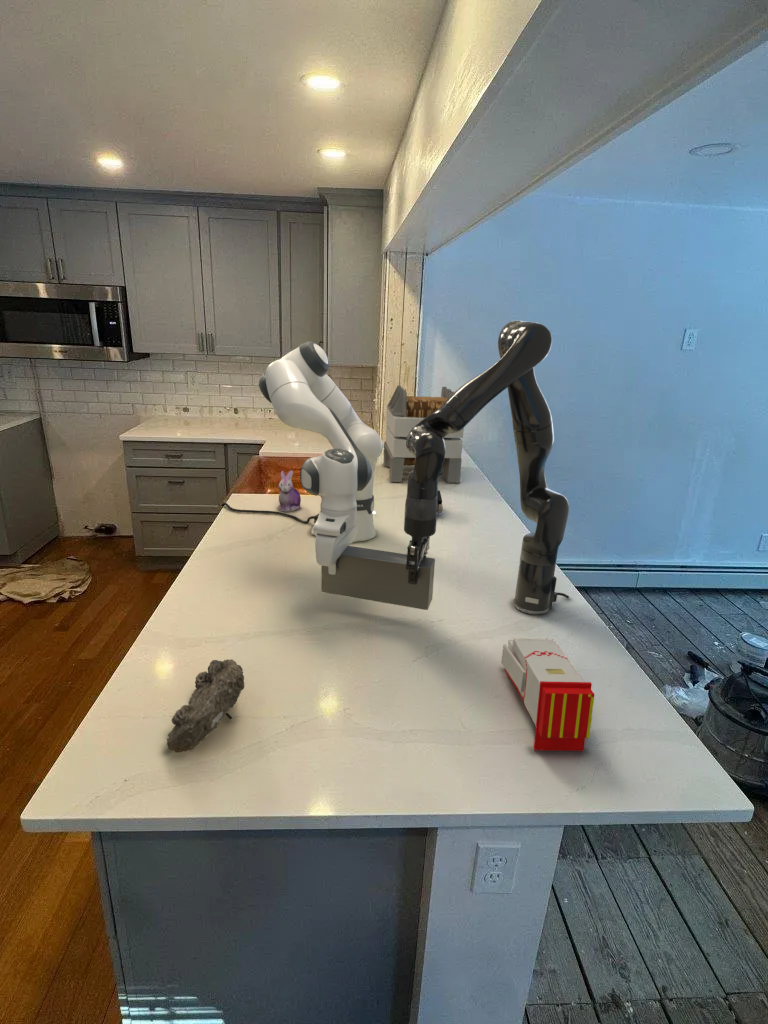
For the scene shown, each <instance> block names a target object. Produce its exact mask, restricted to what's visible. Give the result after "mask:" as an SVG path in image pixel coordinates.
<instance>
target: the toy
mask: <svg viewBox="0 0 768 1024" xmlns="http://www.w3.org/2000/svg"><path fill="white" fill-rule="evenodd" d="M500 661H501V662H500V663H501V664H502V666H503V668H504V671H505V673H506V674H507V676H508V678H509V679H510V681H511V684H512V685H513V686H514V688H515V691H517V693H518V695H519V696H520V699H521V700H522V702H523V704H524V706H525V708H526V711H527V712H528V714H529V716H530V718H531V720H532V723H533V724H534V726H535V731H534V741H533V750H534V751H554V752H555V751H556V752H557V751H558V752H564V751H565V752H584V751H585V743H586V739H590V737H591V736H590V735H591V727H592V718H593V710H594V702H595V692H593V690H592V685H593V684H592V682H590V681H585V679H584V678H583V676H582V675H581V674H580V673H579V672H578V670H577V669H576V668H575V666H574V665H573V663H572V662H571V661H570V659H569V658H568V657H567V655H566V654H565V653H564V651H563V650H562V649H561V648H560V646H559V644H558V643H557V642H556V640H554V638H517V637H515V638H512V639H508V643H507V644H503V647H502V653H501V660H500Z"/></svg>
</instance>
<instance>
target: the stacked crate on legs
mask: <svg viewBox="0 0 768 1024" xmlns="http://www.w3.org/2000/svg"><path fill="white" fill-rule="evenodd" d="M454 392H455V391H453V390H452V389H451V388H447V386H442V387H441V392H440V393H441V394H440V396H415V395H414V396H413V395H412V396H411V395H407V394H408V393H407V390H406V389H404V388H403V387H402V385H399V384H398V385H397V386H396V388H395V390H394V392H393V394H392V395H391V398H390V400H389V402H388V404H387V405H386V413H385V414H386V415H385V423H386V428H385V438H384V442H383V466H384V467H388V468H389V475H388V476H389V477H388V478H389V480H390V482H391V483H402V482H403V475H404V469H405V466H406V467H407V466H411V467H412V466H413V467H414V466H415V456H414V455H412V454H411V453H410V452H409V451H408V449H407V447H406V438H407V436H408V434H409V432H410V431H411V430H412V428H413V427H414V426H415V425H417V424H418V423H419V422H420V421H422V420H423V419H425V418H426V417H427V416H429V415H430V414H432V413H433V412H435V411H437V410H438V409H439V408H440V407H441V406H442V405H443V404H444V403H445V402H446V401H447V400H448V399H449V398H450V396H451V395H452V394H453V393H454ZM464 429H465V427H464V428H463V429H462V430H461V431H459V432H457V433H450V434H448V435H447V436H445V437H444V438H443V439H444V442H445V458H444V462H443V466H442V469H441V472H440V475H443V478H444V479H445V481H446V482H447V483H449V484H455V483H456V484H459V483H461V472H462V461H463V460H462V453H463V442H464V441H463V440H462V439H463V438H464V431H465V430H464Z"/></svg>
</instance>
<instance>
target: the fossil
mask: <svg viewBox="0 0 768 1024" xmlns="http://www.w3.org/2000/svg"><path fill="white" fill-rule="evenodd" d="M243 670H244V669H243V667H242V665H240V664H237V662H236V661H235V660H234V659H232V658H231V659H227V658H226V659H224V660H223V661H222V660H217V659H212V660H211V661H210V663H209V665H208V666H207V671H201V672H199V673H198V674H197V675H196V676H195V680H194V684H195V685H194V687H195V689H194V690H193V693H192V694H191V697H190V698H189V700H188V704H184V705H182V706H181V707H180V709H177V710H176V711H175V713H174V715H173V716H172V718H171V723H172V724H173V727H172V730H171V731H170V732H168V734H167V738H166V741H167V742H166V745H167V749H168V750H169V751H173V752H174V753H176V754H178V753H182V752H188V751H189V752H192V751H193V750H195V748H196V747H197V746H199V744H200V743H201V742H203V741H204V740H205V739H206V738H207V737H208V736H209V735H210V734H211V733H212V732H214V730H215V729H217V727H218V726H219V724H220V722H221V721H222V720H223V719H224V718H225V716H226V717H227V719H229V720H233V717H232V715H230V714H229V710H230V709H231V708H234V706H235V704H236V703H237V702H238V699H239V697H240V695H241V693H242V691H243V690H245V689H244V688H245V675H244V671H243Z"/></svg>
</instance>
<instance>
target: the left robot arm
mask: <svg viewBox="0 0 768 1024" xmlns="http://www.w3.org/2000/svg"><path fill="white" fill-rule="evenodd" d="M329 368H330V362H329V359H328V355H327V353H326V352H325V350H324V349H323V348H322V347H321V346H320V345H319V344H317V343H316V342H314V341H311V340H309V341H306V342H303V343H301V344H299V345H298V347H295V349H293V350H291V351H289V352H287V353H286V354H284V355H283V356H282V357H281V358H279V359H277V360H276V359H275V360H274V361H272V362H271V363H270V364H269V365H268V366H267V367H266V369H265V371H264V372H263V374H262V375H261V376H260V377H259V380H258V387H259V390H260V393H261V394H262V395H263V397H264V398H265V400H267V401H268V402H269V403H270V404H271V405H272V408H273V411H274V413H275V414H276V416H277V417H278V419H279V420H280V422H282V423H283V424H284V425H286V426H288V427H291V428H294V429H300V430H305V431H310V432H314V433H316V434H319V435H322V436H323V437H324V438H326V439H327V441H328V442H329V444H330V445H331V447H332V448H330V449H328V450H326V451H323V454H322V455H318V456H312V457H309V458H306V459H305V460H304V462H303V463H302V465H301V467H300V470H299V480H300V486H301V488H302V489H303V490H305V491H306V492H307V493H309V494H310V495H312V496H314V497H315V496H316V497H318V496H319V497H320V499H321V501H320V511H319V512H318V513H317V514H315V515H312V516H309V517H308V518H307V519H306V520H302V519H300V518H299V517H297V516H296V515H292V514H290V513H287V512H283V511H276V510H256V509H255V510H254V509H238V508H234V507H232V506H231V505H229V503H227V502H223V503H222V504H221V507H225V506H226V507H227V508H228V510H229V511H232V512H238V513H254V514H273V515H274V514H275V515H280V516H285V517H288V518H291V519H294V520H295V521H297V522H300V523H302V524H305V525H306V524H309V523H310V522H311V520H313V523H314V524H313V526H312V528H311V530H310V533H311V536H315V540H314V541H315V542H314V544H315V546H314V548H315V560H316V563H317V565H319V566H321V565H322V566H328V568H329V574H332V575H335V574H336V572H337V566H336V560H337V559H338V558H339V557H340V556H341V554H342V553H343V551H344V550H345V549H346V548H347V547H348V546H351V545H352V543H357V542H365V541H368V540H372V539H373V538H375V537H376V535H377V532H376V528H375V523H374V515H375V514H376V511H375V510H374V509H375V496H374V476H375V470H376V466H377V462H378V460H379V457H380V456H381V454H382V453H383V451H384V442H383V439H382V438H381V436H380V435H379V433H378V432H377V431H376V430H375V429H374V428H372V427H370V426H369V425H367V424H366V423H364V421H362V420H361V418H360V417H359V416H358V414H357V412H356V411H355V409H354V408H353V406H352V403H351V402H350V401H349V400H348V398H347V397H346V396H345V394H344V393H343V392H342V390H341V389H340V388H339V386H337V384H336V383H335V382H334V381H333V380H332V379H331V377H330V376H329V375H328V374H327V373H328V370H329Z"/></svg>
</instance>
